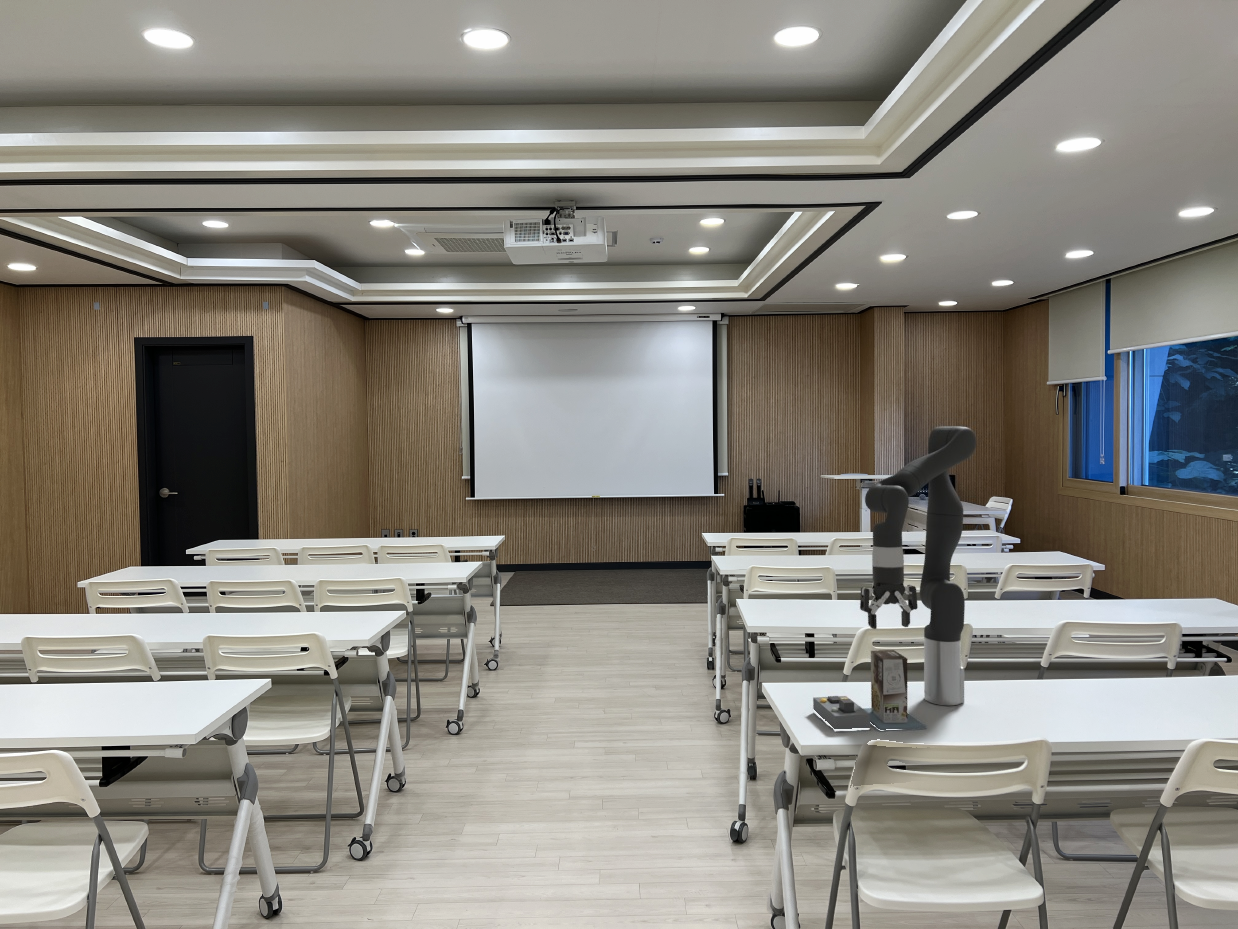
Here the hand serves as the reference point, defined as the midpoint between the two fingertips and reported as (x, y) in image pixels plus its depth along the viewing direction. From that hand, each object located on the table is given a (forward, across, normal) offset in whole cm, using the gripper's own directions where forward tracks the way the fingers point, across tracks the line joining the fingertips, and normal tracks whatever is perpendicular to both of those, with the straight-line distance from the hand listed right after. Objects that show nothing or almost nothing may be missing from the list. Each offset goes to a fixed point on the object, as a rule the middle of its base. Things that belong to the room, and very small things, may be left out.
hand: (889, 627), depth 189 cm
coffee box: (+23, 0, 0) cm, 23 cm away
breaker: (+20, +13, +2) cm, 24 cm away
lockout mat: (+24, 0, 0) cm, 24 cm away
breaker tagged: (+21, +13, -5) cm, 25 cm away
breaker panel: (+24, +13, -1) cm, 27 cm away
